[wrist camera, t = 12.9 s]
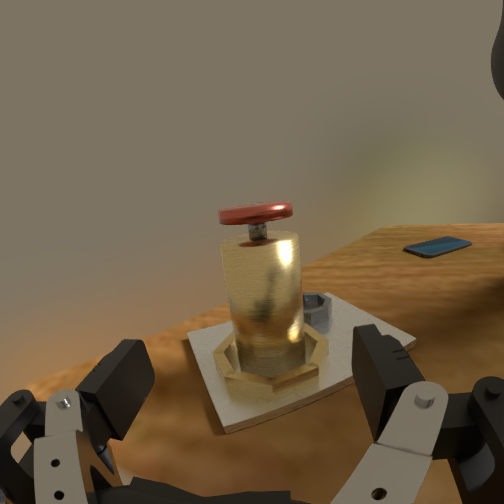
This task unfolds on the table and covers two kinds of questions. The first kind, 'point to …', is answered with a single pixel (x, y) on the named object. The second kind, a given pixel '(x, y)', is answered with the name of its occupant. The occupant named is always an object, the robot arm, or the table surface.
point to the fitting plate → (293, 381)
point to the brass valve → (264, 289)
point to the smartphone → (437, 246)
